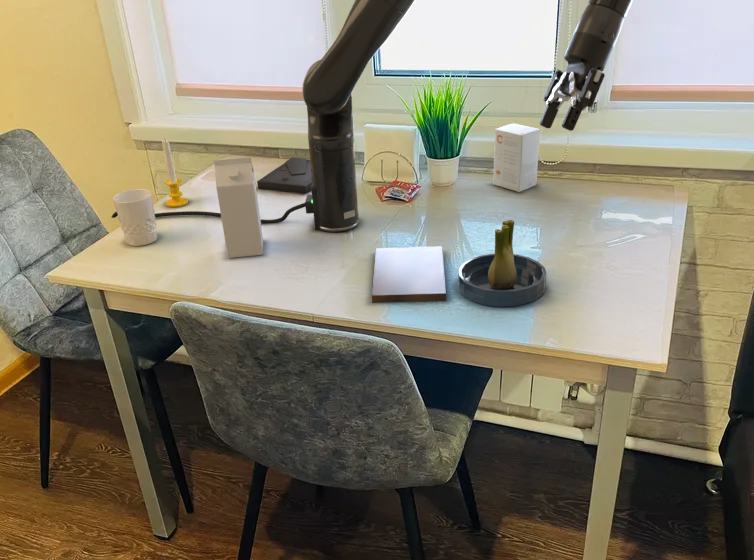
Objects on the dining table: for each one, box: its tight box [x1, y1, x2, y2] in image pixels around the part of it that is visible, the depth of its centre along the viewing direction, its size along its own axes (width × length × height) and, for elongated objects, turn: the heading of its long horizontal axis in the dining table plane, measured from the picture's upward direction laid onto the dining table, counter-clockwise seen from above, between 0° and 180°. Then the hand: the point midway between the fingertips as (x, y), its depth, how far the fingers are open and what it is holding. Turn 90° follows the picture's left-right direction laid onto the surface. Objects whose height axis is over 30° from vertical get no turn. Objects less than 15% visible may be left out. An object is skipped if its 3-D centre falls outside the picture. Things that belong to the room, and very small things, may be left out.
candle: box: [161, 138, 189, 208], centre depth 182 cm, size 5×5×16 cm
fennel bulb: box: [488, 219, 517, 289], centre depth 137 cm, size 6×5×12 cm
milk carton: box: [213, 156, 264, 259], centre depth 156 cm, size 7×7×19 cm
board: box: [371, 245, 447, 304], centre depth 146 cm, size 13×20×2 cm, turn 176°
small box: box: [492, 122, 541, 193], centre depth 179 cm, size 8×6×13 cm
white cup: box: [112, 188, 159, 247], centre depth 166 cm, size 8×8×10 cm
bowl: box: [457, 253, 548, 307], centre depth 139 cm, size 15×15×3 cm
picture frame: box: [256, 157, 312, 195], centre depth 194 cm, size 13×2×18 cm
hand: (555, 128), depth 143 cm, fingers open, 8 cm apart
